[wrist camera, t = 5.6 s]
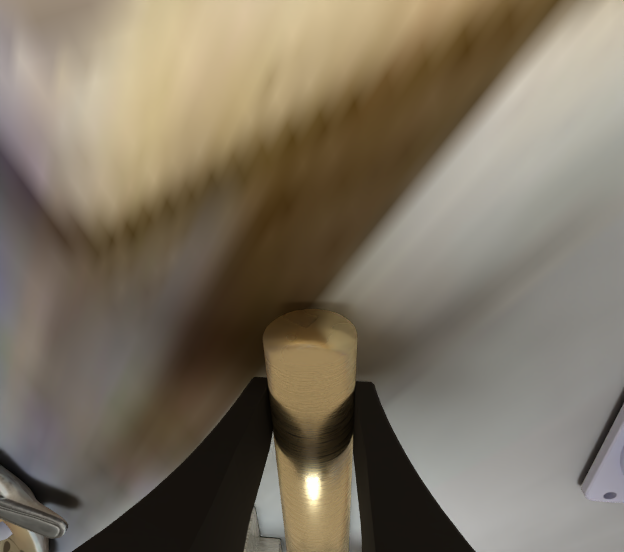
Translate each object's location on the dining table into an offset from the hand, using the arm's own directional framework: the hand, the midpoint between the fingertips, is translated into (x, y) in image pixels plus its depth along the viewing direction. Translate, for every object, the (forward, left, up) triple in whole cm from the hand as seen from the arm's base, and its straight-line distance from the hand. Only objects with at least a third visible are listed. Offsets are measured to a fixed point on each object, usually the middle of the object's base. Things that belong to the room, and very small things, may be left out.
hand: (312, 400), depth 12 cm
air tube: (0, +7, -1) cm, 7 cm away
